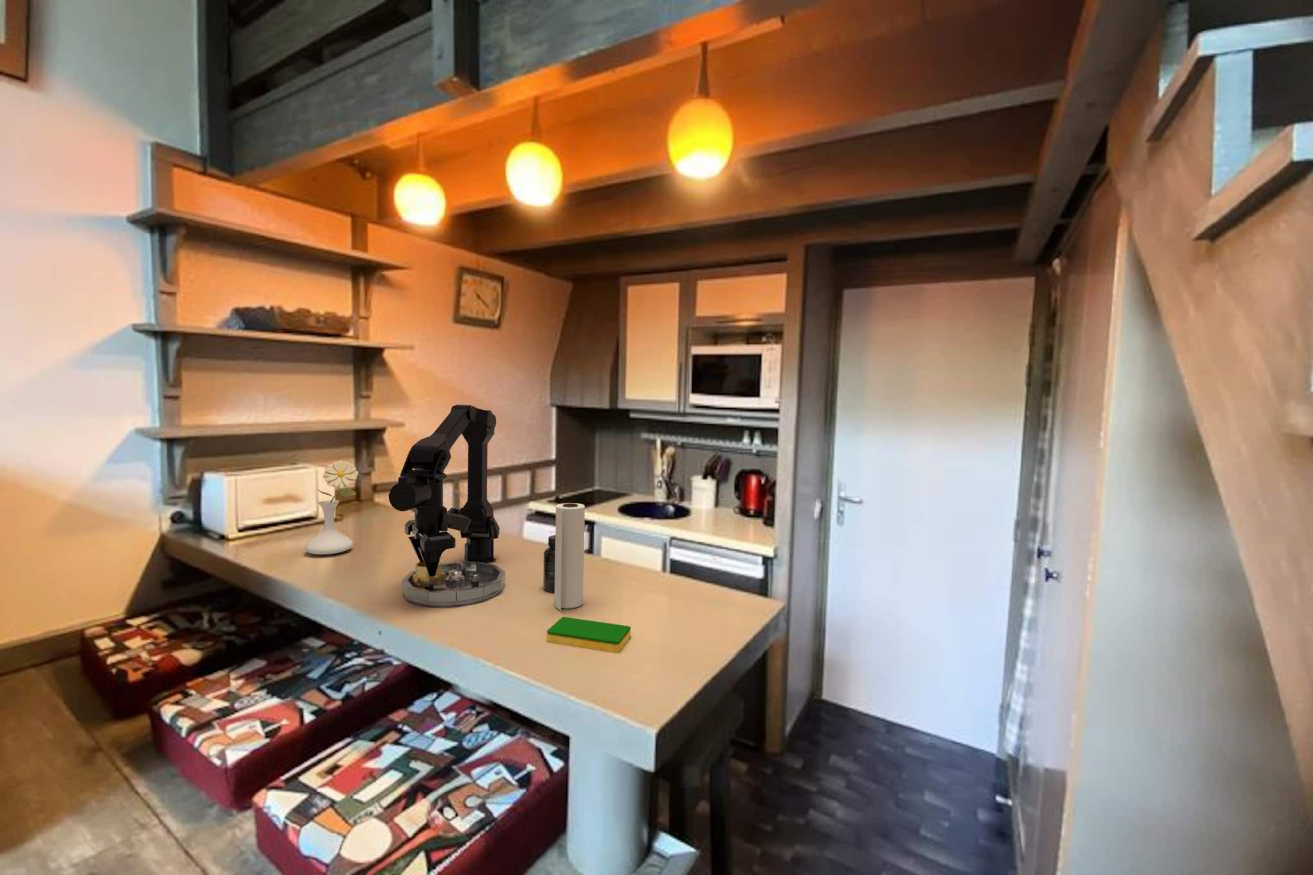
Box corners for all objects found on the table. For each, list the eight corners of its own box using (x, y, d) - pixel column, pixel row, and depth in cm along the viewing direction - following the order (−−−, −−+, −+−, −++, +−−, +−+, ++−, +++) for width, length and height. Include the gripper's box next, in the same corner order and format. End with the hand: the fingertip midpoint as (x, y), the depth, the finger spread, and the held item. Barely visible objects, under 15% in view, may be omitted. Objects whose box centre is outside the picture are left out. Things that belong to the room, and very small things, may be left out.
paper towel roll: (571, 596, 123) (573, 501, 122) (588, 604, 119) (590, 505, 117) (543, 604, 118) (545, 504, 117) (560, 613, 114) (562, 509, 112)
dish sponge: (618, 655, 97) (618, 641, 97) (545, 643, 101) (545, 630, 101) (630, 638, 104) (631, 625, 104) (562, 628, 108) (562, 615, 108)
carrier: (485, 569, 140) (485, 552, 140) (517, 595, 123) (518, 575, 123) (394, 584, 128) (394, 565, 127) (416, 615, 111) (416, 593, 111)
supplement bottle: (579, 588, 129) (580, 537, 128) (555, 595, 124) (556, 542, 123) (561, 581, 133) (561, 531, 132) (537, 587, 128) (537, 536, 127)
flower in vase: (297, 558, 145) (295, 462, 143) (314, 546, 156) (313, 457, 154) (352, 557, 147) (351, 463, 145) (365, 545, 158) (364, 457, 156)
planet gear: (410, 579, 123) (410, 561, 122) (440, 574, 126) (440, 557, 126) (417, 588, 118) (417, 569, 117) (447, 582, 121) (447, 564, 121)
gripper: (480, 506, 118) (480, 578, 119) (454, 492, 133) (454, 556, 134) (424, 511, 111) (425, 587, 113) (404, 496, 126) (404, 563, 128)
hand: (429, 572), depth 122 cm, fingers closed on planet gear, 5 cm apart
